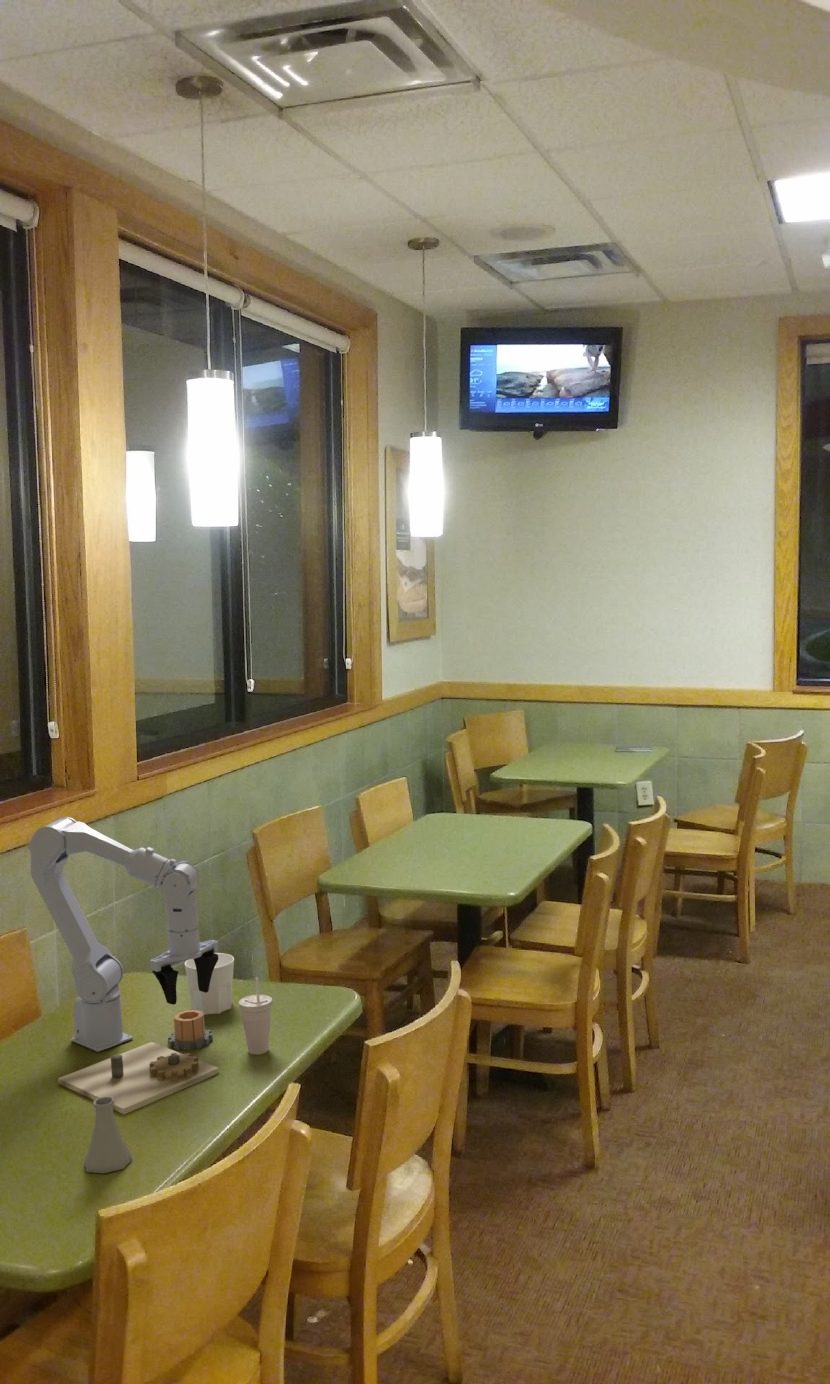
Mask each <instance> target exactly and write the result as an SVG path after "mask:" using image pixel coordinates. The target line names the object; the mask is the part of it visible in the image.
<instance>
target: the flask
mask: <svg viewBox="0 0 830 1384" xmlns="http://www.w3.org/2000/svg"><path fill="white" fill-rule="evenodd" d="M113 1104H114V1098H113V1097H109V1096H104V1097H100V1098H97V1099H95V1100H92V1105H93V1107H94V1109H95V1110H94V1111H95V1116H94V1117H95V1118H94V1127H93V1130H92V1134H91V1139H90V1141H89V1142H90V1143H89V1145H88V1149H87V1152H86V1155H85V1159H84V1162H83V1164H84V1165H83V1166H84V1168H85V1171H86V1173H94V1174H96V1173H97V1174H107V1173H111V1172H116V1171H121V1170H124V1169H125V1168H126V1167H127V1166H128V1165H129V1164H130V1162H131V1161H132V1160H133V1159H132V1156H131V1153H130V1150H129V1148H128V1146H127V1144H126V1141H125V1140H124V1138H123V1136H122V1133H121V1131H120V1130H119V1127H118V1124H117V1122H116V1118H115V1114H114V1110H113Z"/></svg>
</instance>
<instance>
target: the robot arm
mask: <svg viewBox="0 0 830 1384" xmlns="http://www.w3.org/2000/svg"><path fill="white" fill-rule="evenodd" d="M27 848H28V850H29V852H30V876H31V880H33V883H34V884H35V886H36V889H37V890H38V892H39V894H40V896H41V898H42V900H43V903H44V904H45V906H46V908H47V910H48V912H49V914H50V916H51V918H52V920H53V922H54V923H55V926H56V927H57V930H58V931H59V933H60V935H61V937H62V940H63V941H64V944H65V946H66V948H68V951H69V952H70V953H69V954H71V957H72V964H71V974H72V976H73V977H74V983H75V984H74V988H75V991H76V994H77V997H76V999H75V1001H74V1004H73V1008H72V1011H73V1012H72V1013H73V1023H74V1024H73V1025H74V1026H73V1027H74V1036H73V1037H71V1041H72V1042H74V1043H76V1044H78V1045H81V1046H83V1047H85V1048H87V1049H90V1050H93V1051H95V1052H97V1053H99V1052H102V1051H104V1050H107V1049H110V1048H113V1047H115V1046H117V1045H120V1044H123V1043H125V1042H129V1041H131V1040H133V1036H132V1035H130V1034H129V1033H128V1034H127V1033H125V1032H124V1029H123V1028H124V1027H123V1014H122V1002H121V1001H122V1000H121V990H120V988H119V983H120V982H121V981H122V979H123V977H124V967H123V965H122V963H121V961H120V960H118V959H117V958H116V957H115V956H114V955H112V953H111V951H110V950H109V948H108V947H107V946H105V945H103V944H101V943H99V941H98V938H97V937H96V935H95V933H94V931H93V929H92V927H91V925H90V923H89V921H88V919H87V917H86V916H85V912H84V911H83V909H82V908H81V906H80V904H79V902H78V900H77V898H76V896H75V894H74V892H73V890H72V888H71V886H70V884H69V881H68V880H67V878H66V876H65V874H64V872H63V869H64V867H65V864H66V862H67V861H68V857H69V855H74V854H79V853H84V852H87V853H91V854H93V855H95V856H98V857H100V858H102V859H106V860H109V861H110V862H113V863H116V864H118V865H120V866H123V867H124V868H125V869H126V872H127V874H128V876H130V877H132V878H135V879H136V880H139V881H141V882H144V883H145V884H148V885H150V886H152V887H154V888H157V889H160V892H161V893H162V895H163V896H164V897H165V901H166V902H165V903H166V906H165V908H166V919H167V921H166V923H167V936H168V950H167V951H166V952H164V953H162V954H160V955H158V956H157V957H154V958H152V959H150V971H151V972H152V974H153V975H154V976H155V978H156V980H157V981H158V982H159V984H160V987H161V989H162V991H163V994H164V997H165V1001H166V1003H167V1004H170V1005H176V1004H177V999H178V998H177V982H178V976H179V971H178V970H175V969H174V967H172V966H174V965H177V964H180V963H183V962H186V961H187V960H189V959H194V962H195V966H196V970H197V979H198V987H199V991H202V992H205V993H207V992H208V991H209V985H210V980H211V976H212V972H213V970H214V967H215V965H216V963H217V961H218V954H214V953H218V952H219V941H217V940H214V939H209V940H206V941H205V940H204V941H200V930H199V929H200V927H199V919H198V918H199V916H198V915H199V914H198V913H199V912H198V902H197V890H196V889H195V888H196V887H197V885H198V883H199V880H200V875H199V871H198V870H197V868H196V867H195V866H194V865H192V864H191V863H189V862H188V861H179V862H177V860H176V859H174V858H171V859H169V858H167V857H164V856H163V855H160V854H158V853H156V852H155V849H154V848H152V847H150V846H148V847H146V848H145V847H139V848H136V849H132V848H130V847H128V846H127V845H124V844H122V843H120V842H118V841H116V840H115V839H112V838H111V837H109V836H107V835H104V834H103V833H102V832H99V831H97V830H95V829H94V828H92V827H90V826H89V825H87V824H86V822H83V821H76V819H74V818H72V817H70V816H61V817H58V818H56V819H55V820H54V821H52V822H51V823H49V824H46V825H44V826H41V827H39V828H38V829H36V830H35V831H34V833H33V835H32V837H31V839H30V841H29V842H28V846H27Z"/></svg>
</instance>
